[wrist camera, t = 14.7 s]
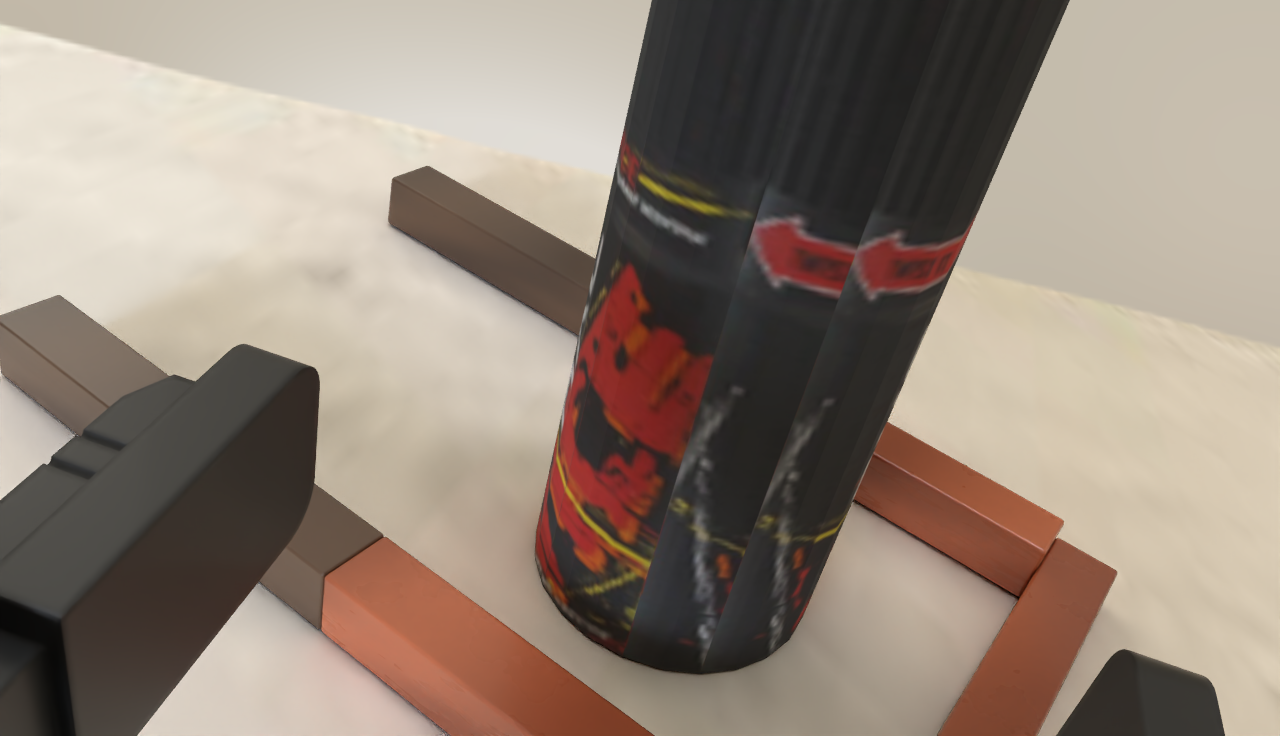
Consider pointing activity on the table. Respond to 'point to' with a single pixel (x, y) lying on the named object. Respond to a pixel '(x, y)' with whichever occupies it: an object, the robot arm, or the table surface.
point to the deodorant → (765, 301)
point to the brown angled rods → (486, 648)
